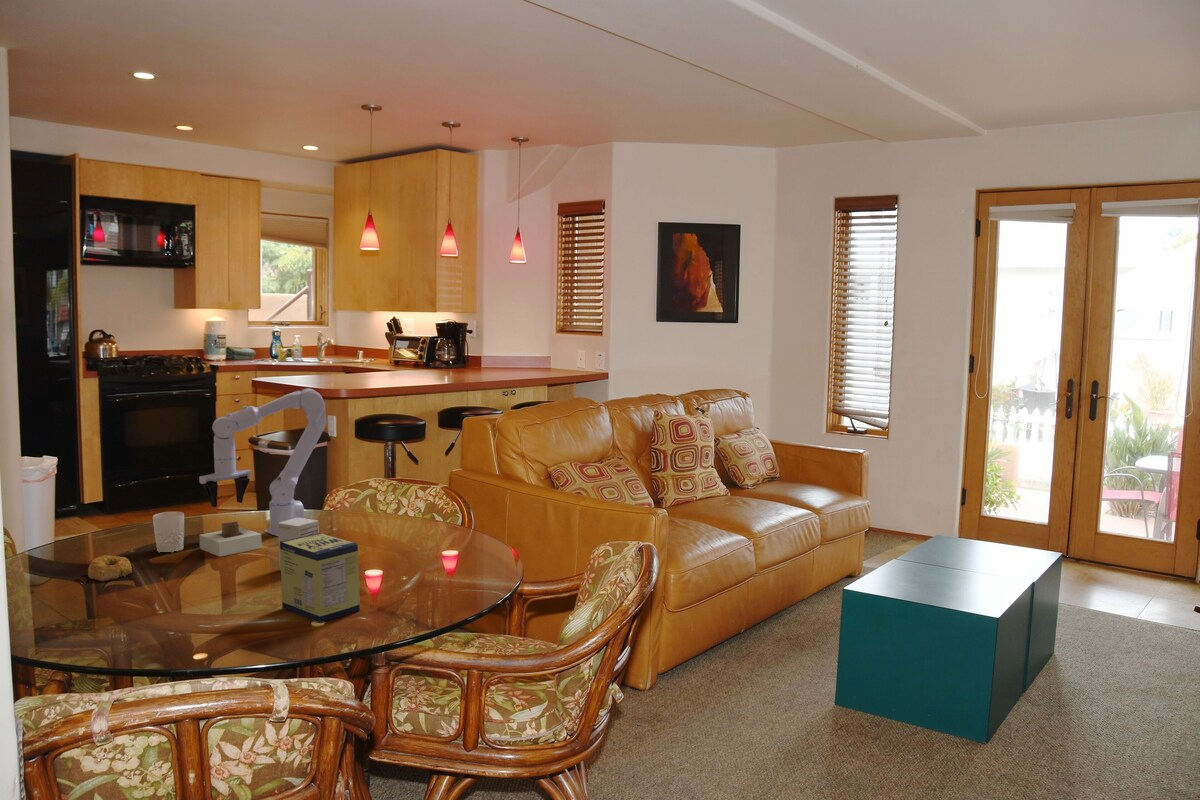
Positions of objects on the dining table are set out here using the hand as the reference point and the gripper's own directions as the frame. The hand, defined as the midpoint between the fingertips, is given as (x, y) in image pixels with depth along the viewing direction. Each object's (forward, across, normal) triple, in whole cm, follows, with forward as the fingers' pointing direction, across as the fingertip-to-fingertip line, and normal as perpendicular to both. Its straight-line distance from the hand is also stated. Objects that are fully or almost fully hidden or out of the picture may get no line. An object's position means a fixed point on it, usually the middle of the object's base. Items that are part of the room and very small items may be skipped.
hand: (227, 504), depth 263 cm
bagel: (+10, +37, +14) cm, 41 cm away
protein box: (+10, +15, +76) cm, 78 cm away
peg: (+10, +5, +12) cm, 16 cm away
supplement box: (+10, +2, +44) cm, 45 cm away
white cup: (+10, +17, +1) cm, 20 cm away
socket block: (+10, +5, +12) cm, 16 cm away
